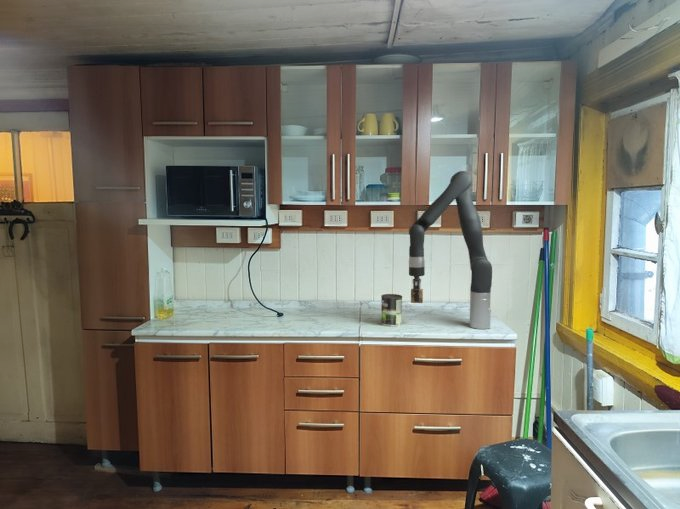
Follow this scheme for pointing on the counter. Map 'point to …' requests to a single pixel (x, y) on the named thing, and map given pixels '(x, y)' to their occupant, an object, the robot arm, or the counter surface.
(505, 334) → the counter surface
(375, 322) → the counter surface
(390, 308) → the coffee can
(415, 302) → the walnut block
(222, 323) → the counter surface
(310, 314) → the counter surface
